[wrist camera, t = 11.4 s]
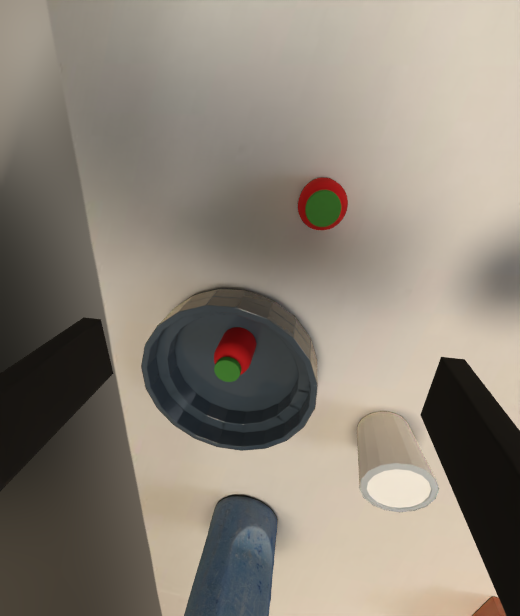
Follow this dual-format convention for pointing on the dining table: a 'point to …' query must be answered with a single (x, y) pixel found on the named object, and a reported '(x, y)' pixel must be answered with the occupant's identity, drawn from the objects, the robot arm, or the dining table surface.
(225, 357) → the strawberry
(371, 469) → the beige short cylinder
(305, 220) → the strawberry
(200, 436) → the bowl
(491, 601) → the house
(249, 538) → the bottle
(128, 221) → the dining table surface
